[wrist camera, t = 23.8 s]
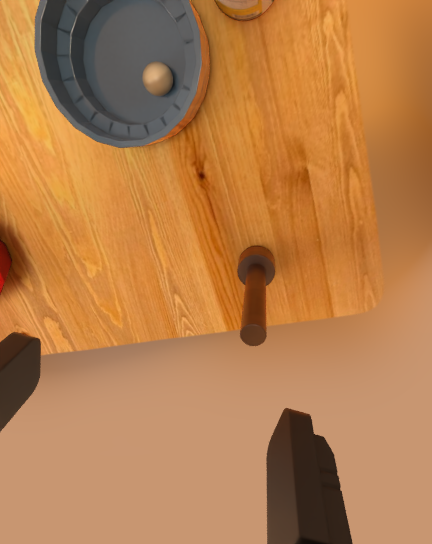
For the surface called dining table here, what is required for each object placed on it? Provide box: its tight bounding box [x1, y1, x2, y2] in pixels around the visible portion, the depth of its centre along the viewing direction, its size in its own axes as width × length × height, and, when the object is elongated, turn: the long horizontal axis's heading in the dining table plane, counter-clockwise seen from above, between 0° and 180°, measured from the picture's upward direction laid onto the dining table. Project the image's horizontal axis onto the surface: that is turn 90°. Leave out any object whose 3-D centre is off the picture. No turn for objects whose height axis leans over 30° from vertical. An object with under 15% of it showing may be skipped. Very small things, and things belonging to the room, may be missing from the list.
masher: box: [238, 246, 275, 346], centre depth 36 cm, size 4×4×16 cm
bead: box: [142, 61, 173, 96], centre depth 34 cm, size 3×3×3 cm
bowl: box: [35, 0, 210, 148], centre depth 33 cm, size 15×15×6 cm
